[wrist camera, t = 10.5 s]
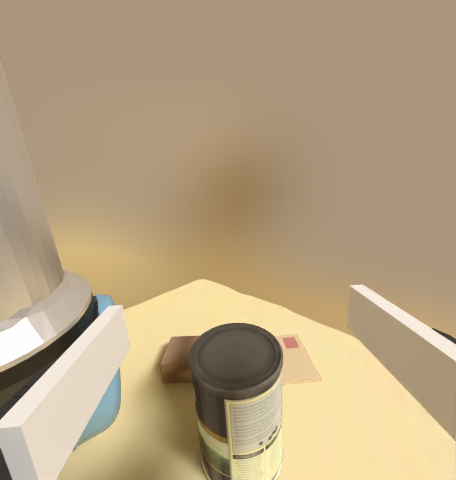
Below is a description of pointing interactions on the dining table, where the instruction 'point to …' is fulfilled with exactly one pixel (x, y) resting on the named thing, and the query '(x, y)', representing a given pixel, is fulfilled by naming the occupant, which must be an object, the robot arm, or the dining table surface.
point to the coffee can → (238, 402)
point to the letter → (296, 361)
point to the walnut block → (177, 360)
